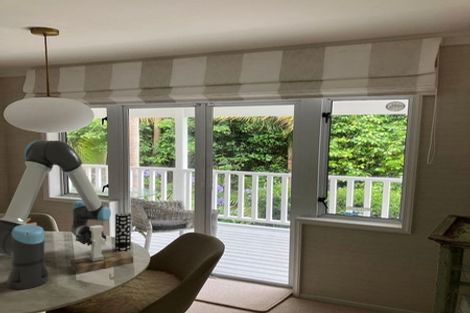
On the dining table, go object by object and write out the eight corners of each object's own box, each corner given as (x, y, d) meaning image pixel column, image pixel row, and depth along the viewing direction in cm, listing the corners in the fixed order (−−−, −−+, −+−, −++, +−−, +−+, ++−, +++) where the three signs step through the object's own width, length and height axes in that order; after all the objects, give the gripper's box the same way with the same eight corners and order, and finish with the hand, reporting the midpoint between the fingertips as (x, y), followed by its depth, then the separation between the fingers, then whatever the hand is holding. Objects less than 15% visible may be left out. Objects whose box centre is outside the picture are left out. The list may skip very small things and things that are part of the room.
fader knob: (92, 261, 163) (93, 228, 163) (89, 258, 168) (89, 226, 168) (103, 259, 167) (103, 227, 166) (99, 256, 171) (99, 224, 171)
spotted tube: (111, 250, 192) (112, 214, 192) (123, 246, 200) (123, 212, 199) (122, 252, 188) (123, 216, 188) (133, 249, 196) (134, 213, 195)
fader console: (77, 274, 156) (77, 266, 156) (70, 266, 166) (70, 259, 166) (133, 262, 172) (133, 256, 172) (123, 256, 182) (124, 250, 182)
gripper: (101, 238, 187) (117, 248, 168) (68, 243, 176) (81, 254, 158) (101, 224, 186) (117, 233, 168) (68, 228, 176) (81, 238, 158)
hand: (99, 243), depth 163 cm, fingers closed on fader knob, 4 cm apart
